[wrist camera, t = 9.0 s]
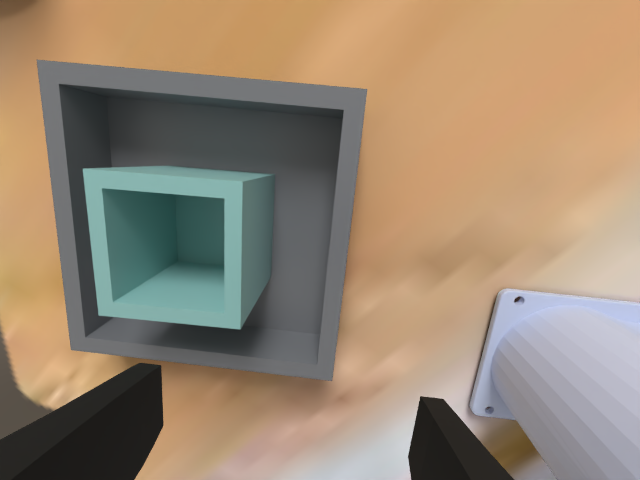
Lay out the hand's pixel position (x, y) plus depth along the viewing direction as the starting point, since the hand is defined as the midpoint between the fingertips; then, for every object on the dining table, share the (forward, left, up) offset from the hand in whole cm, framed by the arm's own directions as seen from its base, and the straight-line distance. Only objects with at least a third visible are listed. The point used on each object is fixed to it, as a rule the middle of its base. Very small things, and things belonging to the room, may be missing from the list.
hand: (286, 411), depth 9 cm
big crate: (+5, -3, -9) cm, 11 cm away
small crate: (+5, -3, -9) cm, 10 cm away
